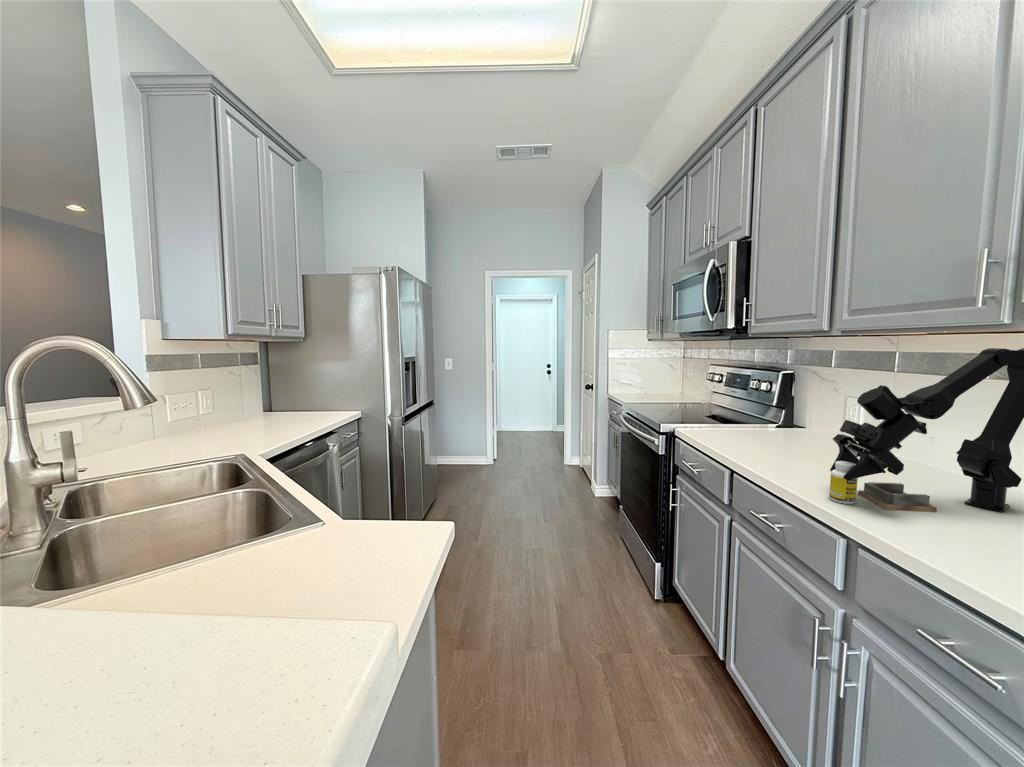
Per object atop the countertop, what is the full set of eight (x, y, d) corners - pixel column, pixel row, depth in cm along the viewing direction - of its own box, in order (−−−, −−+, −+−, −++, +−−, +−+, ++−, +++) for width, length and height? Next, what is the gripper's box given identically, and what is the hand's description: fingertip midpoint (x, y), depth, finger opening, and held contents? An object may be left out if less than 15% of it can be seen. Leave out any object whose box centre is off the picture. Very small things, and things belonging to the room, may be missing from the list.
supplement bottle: (847, 506, 107) (849, 467, 106) (824, 498, 112) (826, 461, 111) (860, 502, 109) (863, 464, 108) (837, 495, 114) (840, 459, 113)
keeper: (902, 495, 113) (904, 482, 113) (936, 511, 103) (937, 497, 102) (858, 494, 115) (858, 481, 114) (886, 509, 104) (887, 495, 104)
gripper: (842, 404, 117) (796, 443, 119) (893, 416, 98) (836, 463, 101) (873, 433, 116) (825, 472, 119) (929, 451, 98) (871, 497, 101)
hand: (837, 475), depth 110 cm, fingers closed on supplement bottle, 5 cm apart
